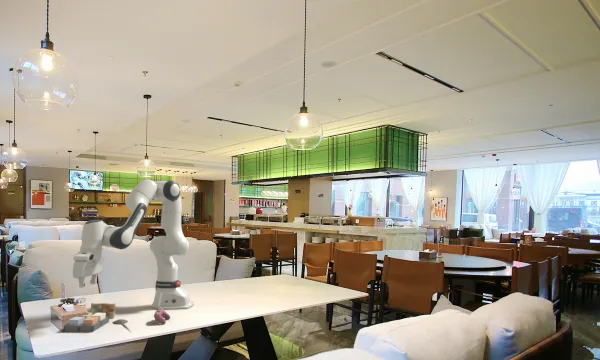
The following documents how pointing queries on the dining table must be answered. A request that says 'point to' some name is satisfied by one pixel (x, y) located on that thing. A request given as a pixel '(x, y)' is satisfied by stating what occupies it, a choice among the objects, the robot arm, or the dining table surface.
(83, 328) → the keypad
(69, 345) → the dining table surface
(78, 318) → the key blue
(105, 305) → the stand
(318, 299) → the dining table surface
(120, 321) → the soupspoon
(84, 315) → the key sage
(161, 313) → the pink neck pillow
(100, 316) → the key cream
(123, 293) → the dining table surface
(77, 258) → the robot arm
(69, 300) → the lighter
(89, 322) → the key terracotta
